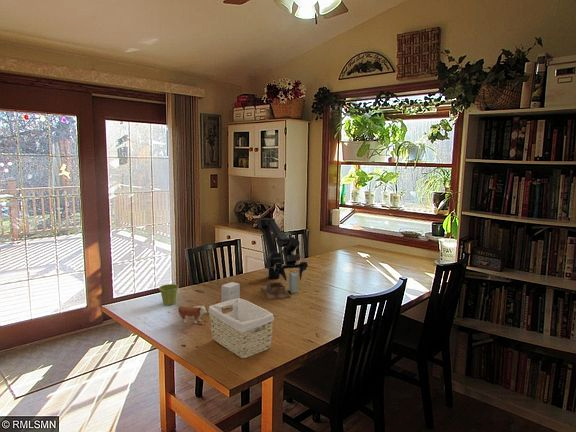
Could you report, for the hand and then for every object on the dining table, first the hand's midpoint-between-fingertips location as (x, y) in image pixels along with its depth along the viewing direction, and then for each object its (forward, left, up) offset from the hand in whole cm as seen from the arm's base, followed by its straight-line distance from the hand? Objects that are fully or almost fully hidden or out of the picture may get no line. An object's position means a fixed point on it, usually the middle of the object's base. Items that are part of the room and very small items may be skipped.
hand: (293, 280), depth 224 cm
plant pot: (-65, -14, -7) cm, 67 cm away
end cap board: (-10, -2, -7) cm, 12 cm away
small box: (-34, -18, -7) cm, 39 cm away
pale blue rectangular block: (0, 0, -7) cm, 7 cm away
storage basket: (-29, -62, -7) cm, 69 cm away
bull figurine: (-50, -39, -7) cm, 64 cm away
